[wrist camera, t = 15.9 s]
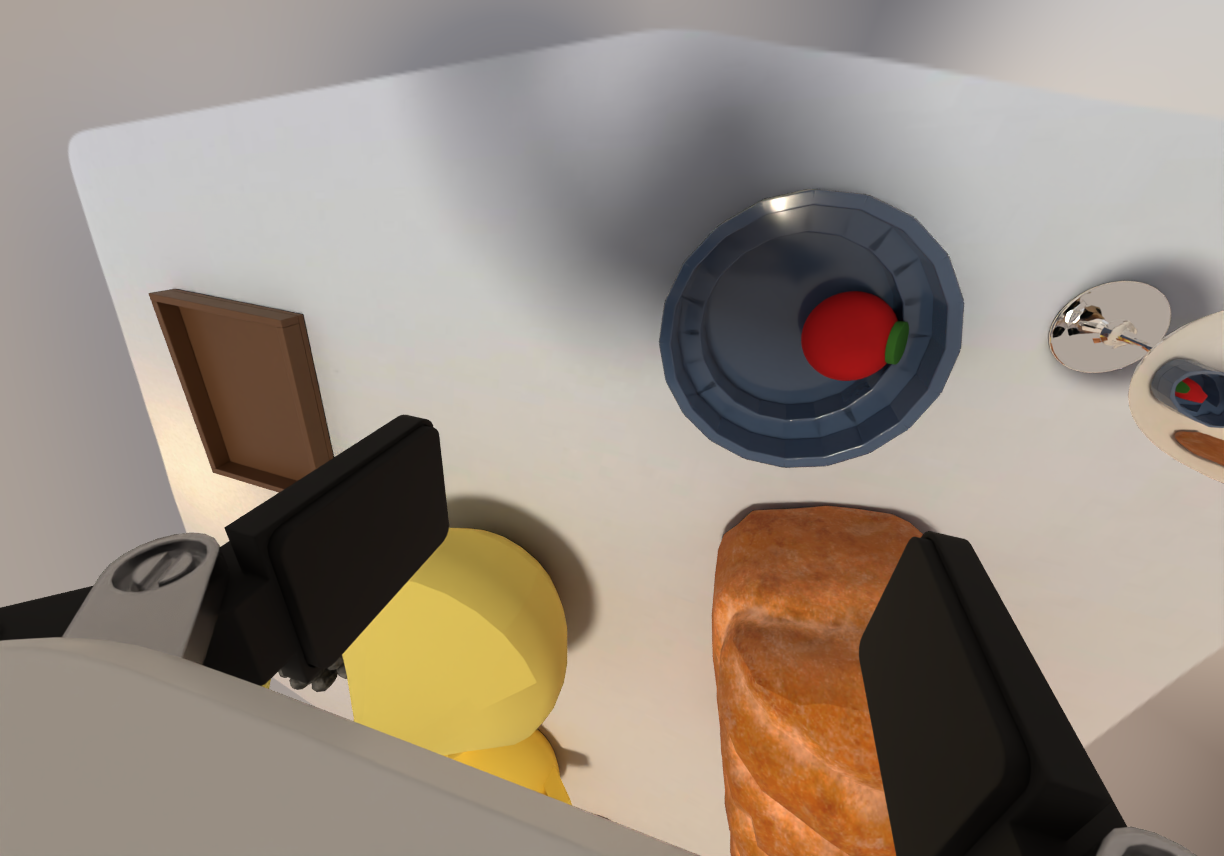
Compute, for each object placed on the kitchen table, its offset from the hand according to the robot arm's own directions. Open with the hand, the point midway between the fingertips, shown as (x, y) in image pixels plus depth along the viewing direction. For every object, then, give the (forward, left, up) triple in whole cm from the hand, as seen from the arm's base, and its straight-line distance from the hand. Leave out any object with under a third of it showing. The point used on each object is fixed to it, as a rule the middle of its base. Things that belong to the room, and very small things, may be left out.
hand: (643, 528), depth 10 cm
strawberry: (0, +4, -19) cm, 20 cm away
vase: (+27, -15, -21) cm, 38 cm away
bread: (+24, +12, -21) cm, 34 cm away
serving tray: (+14, -38, -21) cm, 46 cm away
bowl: (0, +4, -21) cm, 21 cm away
